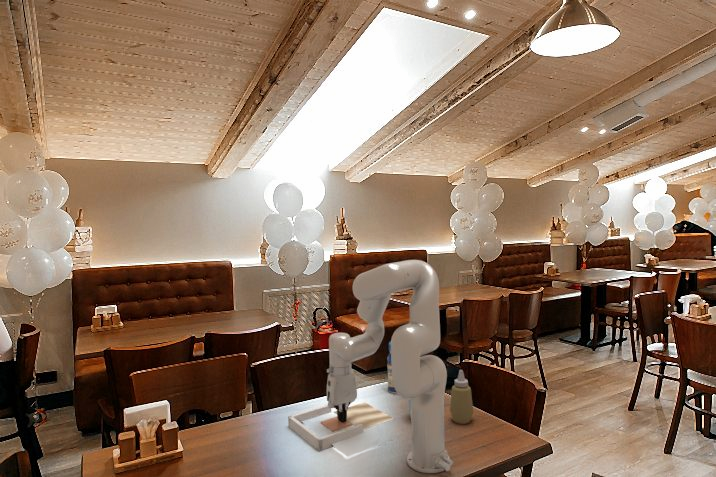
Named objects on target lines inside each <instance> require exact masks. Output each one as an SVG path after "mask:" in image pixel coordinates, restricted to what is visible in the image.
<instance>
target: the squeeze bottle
mask: <svg viewBox="0 0 716 477" xmlns="http://www.w3.org/2000/svg"><path fill="white" fill-rule="evenodd" d="M450 394H451V396H450V406H449V411H450V415H451V417H452V421H454V423H457V424H460V425H462V424H463V425H464V424H469V423H470V422H471V420H472V416H473V414H474V403H473V399H472V398H473V397H472V389H471V387H470V386H469V381H468V379H467V378H465V373H464V371H463V369H459V371H458V375H457V378H456V379H454V385H452V386H451V393H450Z"/></svg>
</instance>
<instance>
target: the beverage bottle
mask: <svg viewBox="0 0 716 477" xmlns="http://www.w3.org/2000/svg"><path fill="white" fill-rule="evenodd" d="M388 351H389V353H388V355H387V364H386V367H387V384H388V385H387V390H388V392H389V393H391V394H394V395H395V394H396V395H399V394H398V393H397V392H396V390H395V388H394V385H393V380H392V364H391V341H389V342H388Z"/></svg>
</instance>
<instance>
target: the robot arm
mask: <svg viewBox="0 0 716 477" xmlns="http://www.w3.org/2000/svg"><path fill="white" fill-rule="evenodd" d="M408 290H413V293H412V294H411V297H410V300H409V305H408V306H409V321H408V323H406V324H403V325H401V326H399V327H398V328H396V329H395V330H394V332H393V334H392V336H391V340H390V342H391V364H392V380H393V385H394V388H395V390H396V392H397V393H398V394H397V395H399V397H401V398H403V399H406V400H408V399H412V402H411V417H410V420H411V451H410V452H409V453H408V454H407V456H406V461H407V462H406V463H407V465H408V466H409V467H410V468H411V469H412V470H414V471H415V472H416V471H417V472H419V473H424V474H436V473H437V474H438V473H440V472H441V473H442V472H444V471H446V472H449V471H450V470H451V466H452V465H453V464H454V460H453V459H451V458H450V456H449V454H448V451H447V450H446V449H445V392H446V385H447V380H448V379H447V378H448V374H447V373H448V371H447V368H446V365H445V363H444V361H443V360H442V359H441V358H440V357H439V356H436V355H432V354H429V353H431V352H433V351H435V350H437V349H438V348H439V346H440V344H441V323H440V319H441V318H440V304H439V303H440V302H439V301H440V282H439V276H438V274H437V272H436V271H435V269H434V268H433V267H432V265H430V264H429V263H427V262H425V261H423V260H421V259H408V260H407V259H406V260H401V261H396V262H390V263H384V264H382V265H379V266H377V267H375V268H372V269H370V270H367V271H365V272H362V273H360V274H358V275H357V276H356V277H355V278H354V280H353V282H352V294H353V295H354V297H355V298H356V300H359V303H358V306H357V309H356V313H357V315H358V317H359V318H360V319H362V320H363V321H365V322H367V326H366V329H365V332H364V333H363V334H358V335H356V336H353V337H351V336H350V334H348V333H347V332H334V333H332V334H330V335H329V338H328V350H329V351H328V353H329V356H328V358H329V366H328V367H329V368H327V369H326V373H328V374H327V381H326V382H327V383H326V401H327V405H328V407H329V408H331V409H335V410H336V411H337V414H336V415H337V416H336V417H337V418H338V420H339V421H340V422H342V423H343V422H346V421H347V410H348V407H350V405H351V404H352V403H353V402H355V401H356V400H357V398H358V390H357V387H358V386H357V381H356V376H355V373H354V370H352V362H356V361H359V360H362V359H364V358H366V357H367V358H368V357H369V356H372V355H374V354H375V353H376V352H377V350H378V349H379V348H380V345H381V344H382V341H383V339H384V336H385V324H384V321H383V317H384V314H385V311H386V309H387V306H388V305H389V302H390V299H391V297H392V295H393V294H394V293H395V294H396V293H398V292H400V293H401V292H404V291H408Z"/></svg>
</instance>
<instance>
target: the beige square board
mask: <svg viewBox="0 0 716 477" xmlns="http://www.w3.org/2000/svg"><path fill="white" fill-rule="evenodd" d="M333 413H334V414H336V415H337V410H336V411H333ZM394 419H395V418H394V417H393V416H390V415H389V414H386V413H385V412H383V411H381V410H380V409H378V408H376V407H374V406H373V405H370V404H369V403H367V402H366V401H364V402H360V403H358V404H354V405H352V406H348V410H347V420H348V421H350V422H351V423H353V425H352V426H356V425H359V424H362V425H363V431H364V430H366V429H369V428H372V427H374V426H377V425H381V424H383V423H386V422H388V421H389V422H390V421H392V420H394Z"/></svg>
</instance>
